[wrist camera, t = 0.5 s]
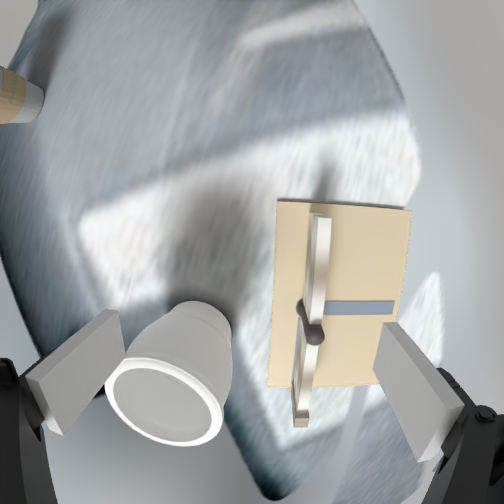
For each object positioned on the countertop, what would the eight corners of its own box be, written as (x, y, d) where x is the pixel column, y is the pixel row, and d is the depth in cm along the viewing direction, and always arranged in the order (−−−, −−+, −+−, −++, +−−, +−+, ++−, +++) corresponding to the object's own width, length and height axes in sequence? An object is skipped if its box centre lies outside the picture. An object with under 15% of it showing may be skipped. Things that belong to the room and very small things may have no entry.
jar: (147, 336, 36) (94, 406, 21) (180, 275, 34) (122, 333, 19) (215, 377, 36) (191, 461, 22) (256, 321, 34) (247, 404, 20)
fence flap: (306, 212, 30) (316, 218, 24) (322, 213, 30) (337, 219, 24) (298, 316, 33) (305, 345, 26) (314, 316, 33) (323, 345, 26)
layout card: (277, 201, 31) (277, 201, 31) (410, 210, 30) (411, 210, 30) (267, 385, 36) (267, 387, 36) (378, 382, 35) (379, 384, 35)
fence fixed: (297, 297, 33) (304, 325, 26) (317, 298, 33) (329, 325, 26) (287, 390, 36) (290, 427, 29) (305, 390, 36) (310, 427, 29)
